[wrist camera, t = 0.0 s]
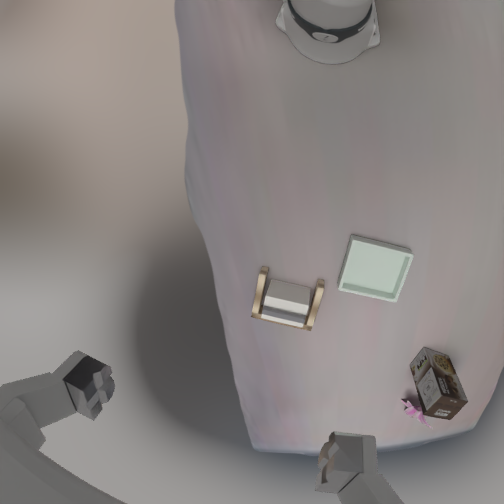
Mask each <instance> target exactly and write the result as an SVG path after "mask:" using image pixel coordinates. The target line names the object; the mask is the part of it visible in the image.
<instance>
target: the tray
mask: <svg viewBox="0 0 504 504" xmlns="http://www.w3.org/2000/svg"><path fill="white" fill-rule="evenodd" d="M413 256H414V254H413V253H412V252H411V250H410V249H407V248H403V247H399V246H395V245H392V244H388V243H384V242H380V241H376V240H372V239H368V238H364V237H360V236H356V235H351V237H350V241H349V245H348V248H347V252H346V255H345V259H344V262H343V266H342V269H341V272H340V276H339V279H338V282H337V285H338V290H340V291H345V292H349V293H354V294H358V295H363V296H368V297H372V298H377V299H381V300H386V301H391V302H395V303H396V301H397V299H398V296H399V294H400V291H401V289H402V286H403V284H404V281H405V278H406V276H407V273H408V270H409V267H410V264H411V262H412V259H413Z"/></svg>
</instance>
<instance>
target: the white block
mask: <svg viewBox="0 0 504 504" xmlns="http://www.w3.org/2000/svg"><path fill="white" fill-rule="evenodd" d="M309 300H310V288H309V287H304V286H300V285H295V284H291V283H287V282H282V281H278V280H274V279H271V282H270V285H269V288H268V290H267V293H266V296H265V301H264V306H263V310H262V315H261V318H263V319H267V320H271V321H276V322H280V323H284V324H288V325H293V326H297V327H303V324H304V322H305V317H306V314H307V311H308V307H309Z"/></svg>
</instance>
